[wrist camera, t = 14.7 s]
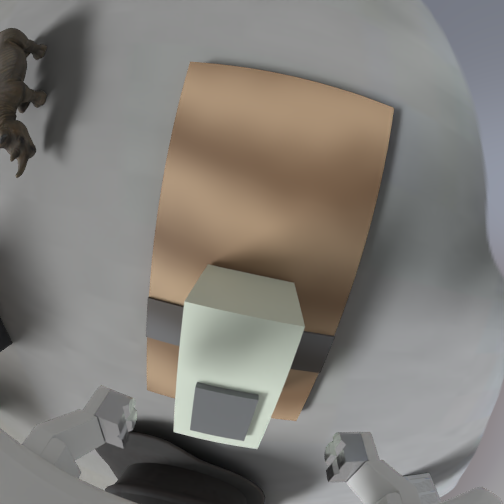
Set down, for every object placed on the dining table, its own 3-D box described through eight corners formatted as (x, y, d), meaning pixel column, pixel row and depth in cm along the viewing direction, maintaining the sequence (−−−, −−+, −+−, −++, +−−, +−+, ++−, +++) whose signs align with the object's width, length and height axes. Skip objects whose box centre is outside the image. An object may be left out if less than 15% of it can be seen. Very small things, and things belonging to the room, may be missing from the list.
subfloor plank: (194, 67, 14) (189, 60, 13) (387, 111, 14) (395, 107, 13) (151, 382, 20) (146, 391, 19) (295, 412, 20) (296, 422, 19)
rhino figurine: (27, 186, 17) (-28, 195, 11) (19, 54, 13) (-24, 41, 7) (59, 165, 16) (-1, 169, 10) (49, 29, 13) (7, 8, 7)
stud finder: (207, 264, 16) (181, 305, 11) (294, 282, 16) (306, 331, 11) (190, 381, 18) (171, 436, 13) (259, 395, 18) (257, 454, 13)
